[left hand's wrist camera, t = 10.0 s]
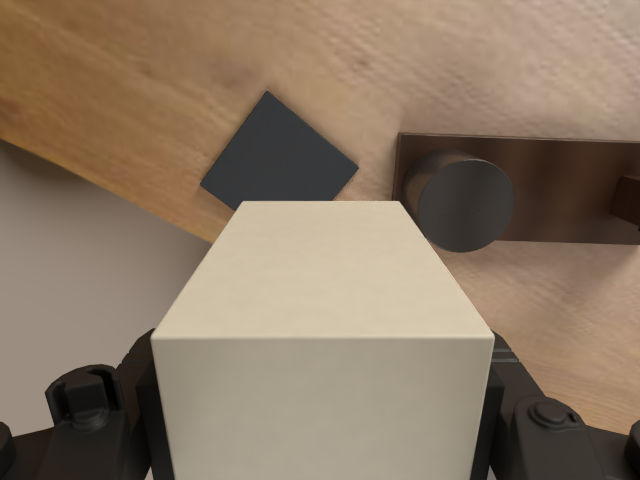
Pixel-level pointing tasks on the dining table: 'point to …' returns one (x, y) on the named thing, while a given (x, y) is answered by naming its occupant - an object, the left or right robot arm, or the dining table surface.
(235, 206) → the coaster
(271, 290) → the cream rectangular block
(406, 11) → the dining table surface
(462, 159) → the stand
